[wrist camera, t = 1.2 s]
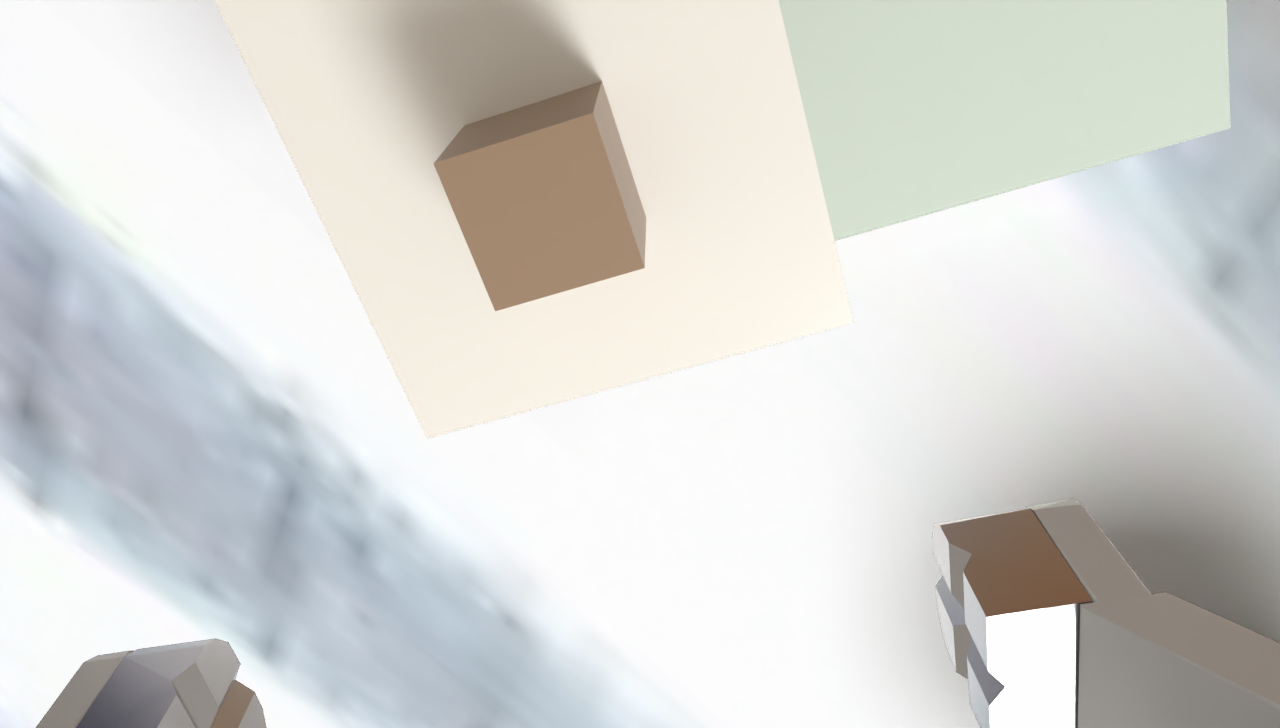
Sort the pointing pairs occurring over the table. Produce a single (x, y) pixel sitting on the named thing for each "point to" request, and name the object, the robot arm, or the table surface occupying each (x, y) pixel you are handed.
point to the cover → (552, 186)
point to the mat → (994, 94)
